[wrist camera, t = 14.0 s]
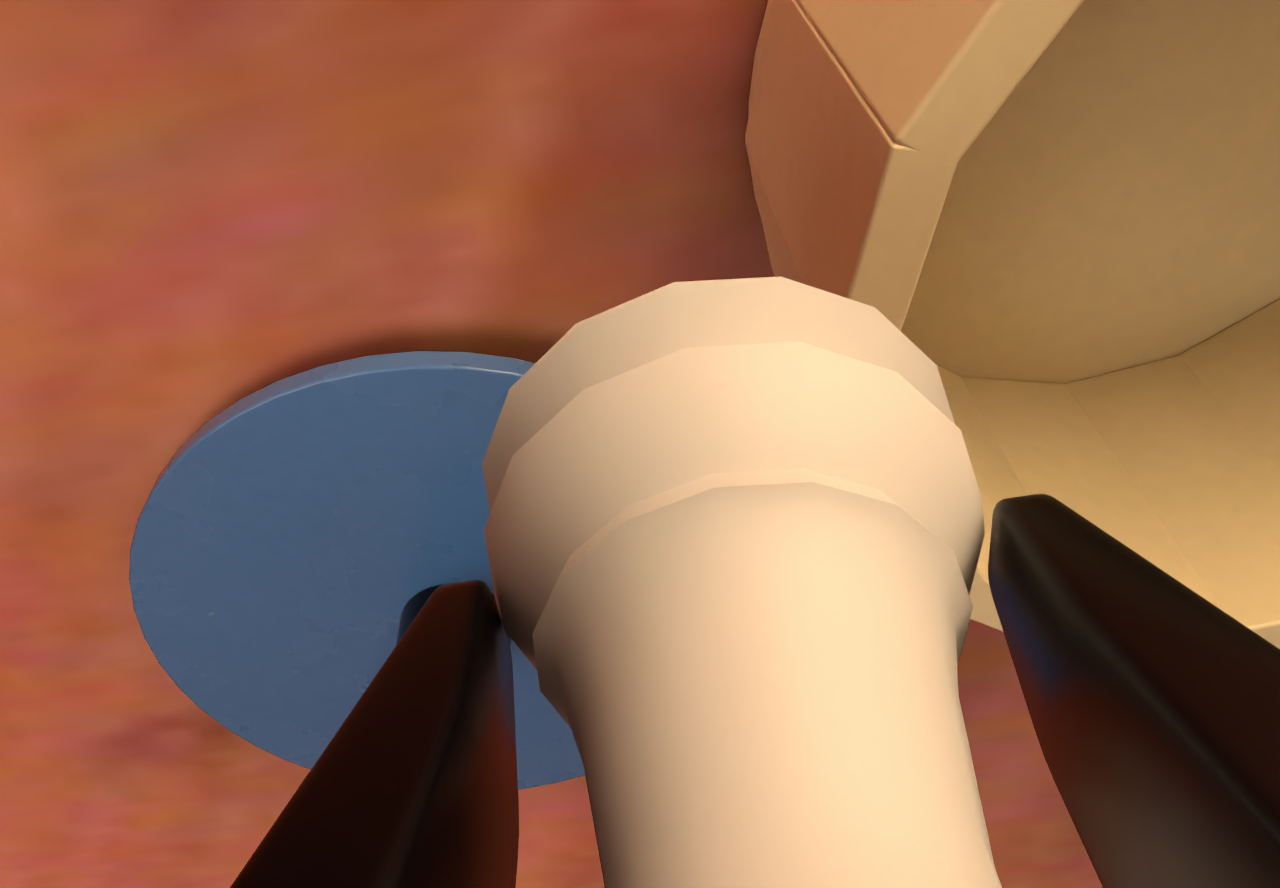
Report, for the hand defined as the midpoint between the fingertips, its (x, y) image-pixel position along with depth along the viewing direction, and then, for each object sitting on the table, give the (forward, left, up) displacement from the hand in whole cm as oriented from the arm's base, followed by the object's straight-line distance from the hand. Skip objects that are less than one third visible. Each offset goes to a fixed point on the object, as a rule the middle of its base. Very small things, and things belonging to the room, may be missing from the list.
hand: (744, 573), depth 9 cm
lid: (-13, +2, -11) cm, 17 cm away
